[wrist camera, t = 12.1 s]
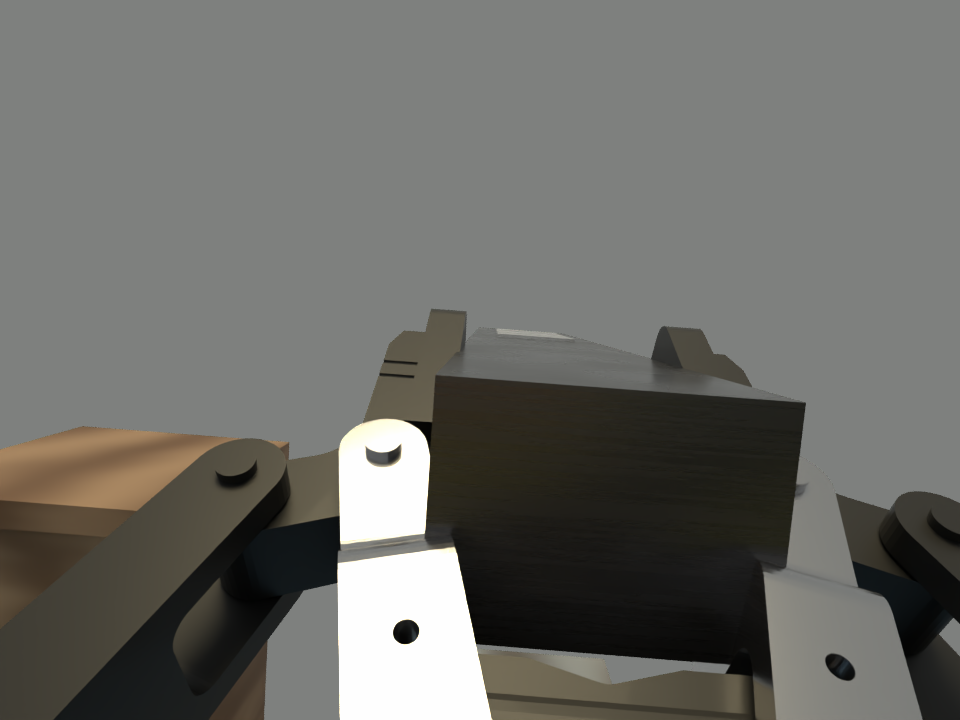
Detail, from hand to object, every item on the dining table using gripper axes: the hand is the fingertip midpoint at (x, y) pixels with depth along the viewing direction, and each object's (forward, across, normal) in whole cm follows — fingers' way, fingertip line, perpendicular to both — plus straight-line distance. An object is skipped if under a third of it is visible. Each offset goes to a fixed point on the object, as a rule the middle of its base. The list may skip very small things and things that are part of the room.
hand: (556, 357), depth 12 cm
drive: (+3, 0, +5) cm, 6 cm away
